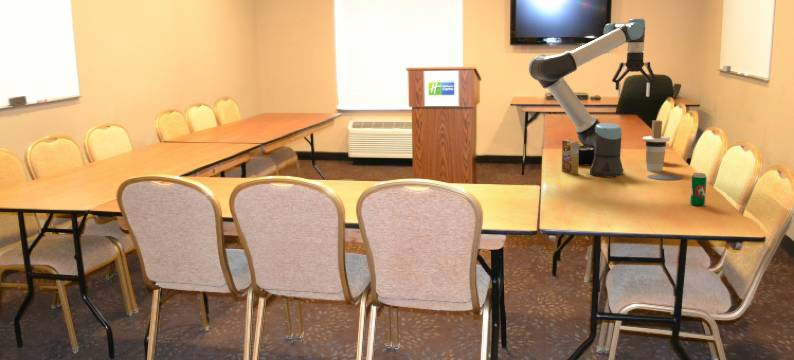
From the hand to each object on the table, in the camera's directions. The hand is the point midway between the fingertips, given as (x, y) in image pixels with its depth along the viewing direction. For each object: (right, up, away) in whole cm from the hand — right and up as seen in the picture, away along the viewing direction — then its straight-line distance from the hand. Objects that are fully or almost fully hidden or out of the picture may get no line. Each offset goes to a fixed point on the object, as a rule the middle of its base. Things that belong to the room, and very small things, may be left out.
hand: (633, 96), depth 327 cm
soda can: (0, -50, -71) cm, 86 cm away
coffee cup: (+8, -36, -5) cm, 38 cm away
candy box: (-31, -37, -2) cm, 48 cm away
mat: (+7, -40, -22) cm, 46 cm away
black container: (-18, -32, +20) cm, 42 cm away
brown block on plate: (+8, -21, -8) cm, 24 cm away
